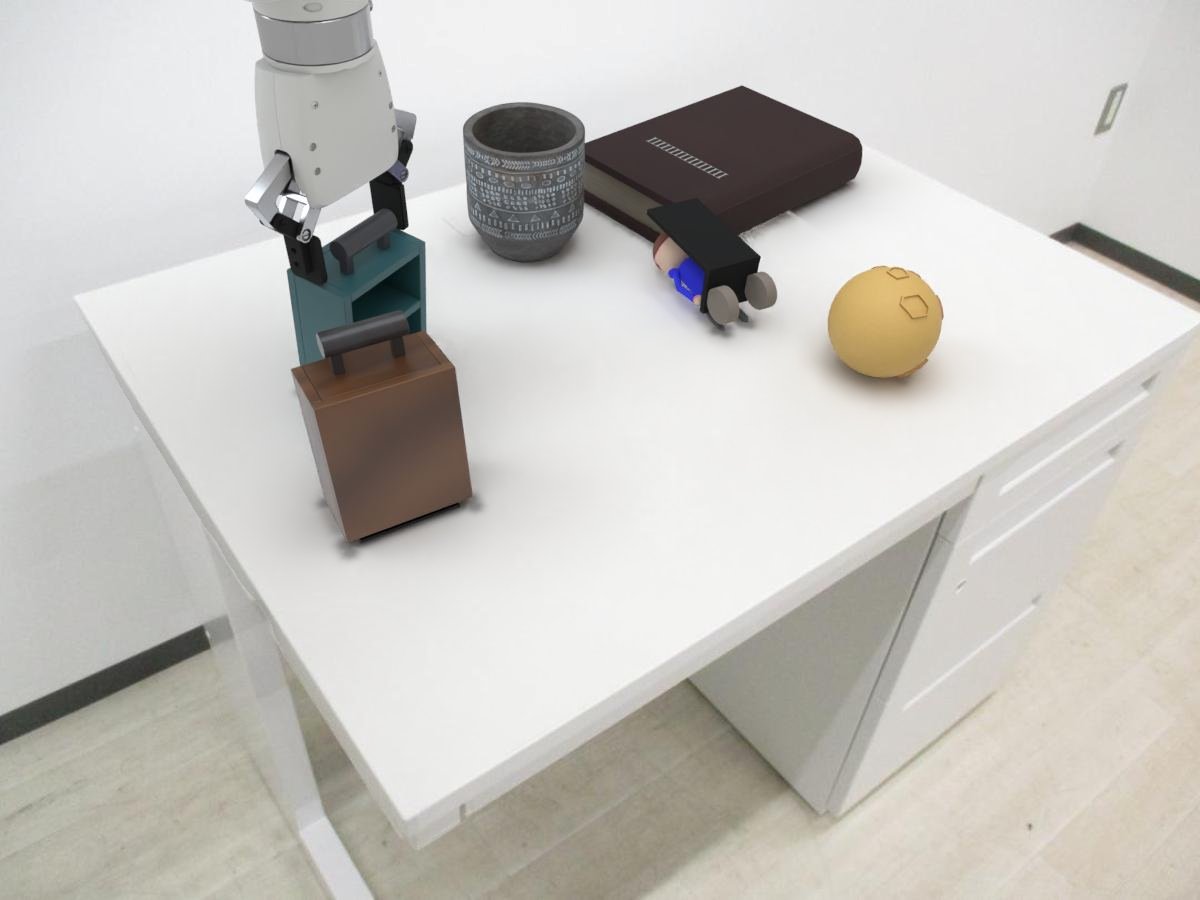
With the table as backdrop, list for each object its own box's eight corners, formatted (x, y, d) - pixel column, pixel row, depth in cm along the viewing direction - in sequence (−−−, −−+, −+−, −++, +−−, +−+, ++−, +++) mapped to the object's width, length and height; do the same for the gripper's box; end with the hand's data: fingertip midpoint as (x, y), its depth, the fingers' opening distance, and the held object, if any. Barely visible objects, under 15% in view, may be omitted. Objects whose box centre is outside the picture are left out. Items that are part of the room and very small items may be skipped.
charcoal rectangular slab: (460, 506, 74) (459, 504, 73) (360, 543, 71) (360, 540, 70) (430, 459, 77) (430, 456, 77) (335, 492, 74) (334, 489, 74)
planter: (528, 285, 96) (525, 168, 87) (446, 242, 102) (436, 127, 93) (606, 240, 103) (610, 127, 94) (525, 201, 109) (522, 91, 100)
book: (693, 266, 100) (698, 216, 96) (573, 195, 110) (573, 147, 106) (855, 186, 114) (867, 140, 110) (735, 129, 124) (742, 85, 120)
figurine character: (771, 337, 93) (687, 248, 101) (789, 277, 88) (699, 188, 95) (715, 357, 91) (634, 265, 99) (730, 297, 85) (643, 204, 93)
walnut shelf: (450, 326, 64) (418, 291, 68) (303, 368, 60) (279, 328, 64) (473, 497, 73) (444, 457, 77) (347, 543, 69) (324, 498, 73)
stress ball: (875, 413, 83) (904, 320, 76) (796, 356, 89) (816, 265, 82) (948, 374, 88) (981, 283, 81) (868, 322, 93) (893, 232, 87)
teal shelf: (280, 234, 71) (340, 264, 70) (368, 181, 78) (425, 208, 76) (301, 382, 82) (354, 411, 81) (377, 325, 89) (427, 351, 87)
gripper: (358, -14, 71) (386, 194, 83) (176, 59, 60) (238, 286, 72) (438, 7, 69) (455, 218, 80) (263, 86, 58) (312, 318, 69)
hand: (352, 250), depth 76 cm, fingers open, 9 cm apart
